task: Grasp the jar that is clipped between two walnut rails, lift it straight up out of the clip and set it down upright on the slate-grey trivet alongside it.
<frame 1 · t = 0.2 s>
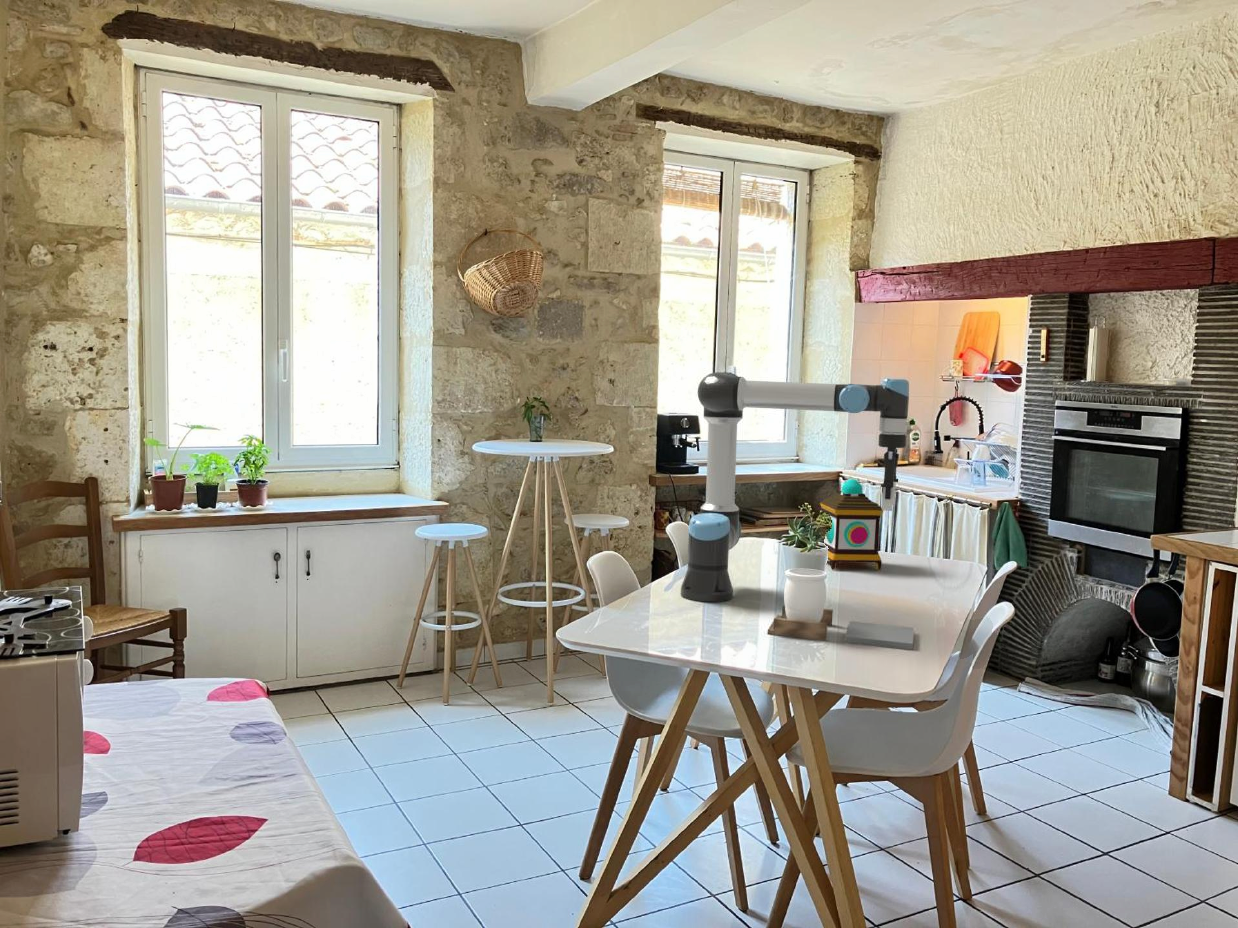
hand: (888, 507, 281), 28 cm above the table, fingers open, 13 cm apart
trivet: (879, 637, 247), on the table
jar: (803, 630, 253), on the table
clip rails: (803, 629, 253), on the table
decorative lantern: (847, 566, 339), on the table
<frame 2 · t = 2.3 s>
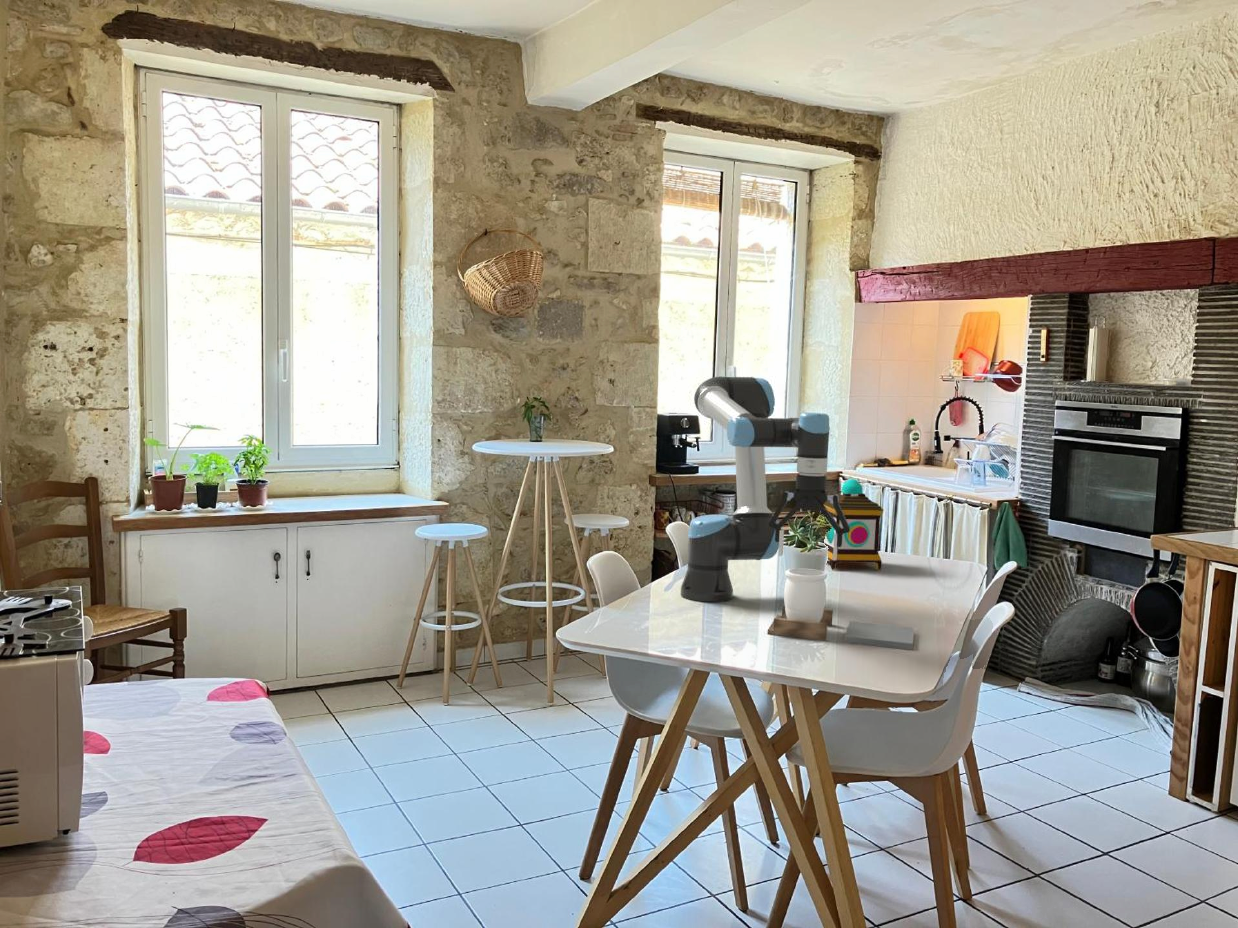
hand: (807, 557, 251), 19 cm above the table, fingers open, 13 cm apart
nothing on the table moved.
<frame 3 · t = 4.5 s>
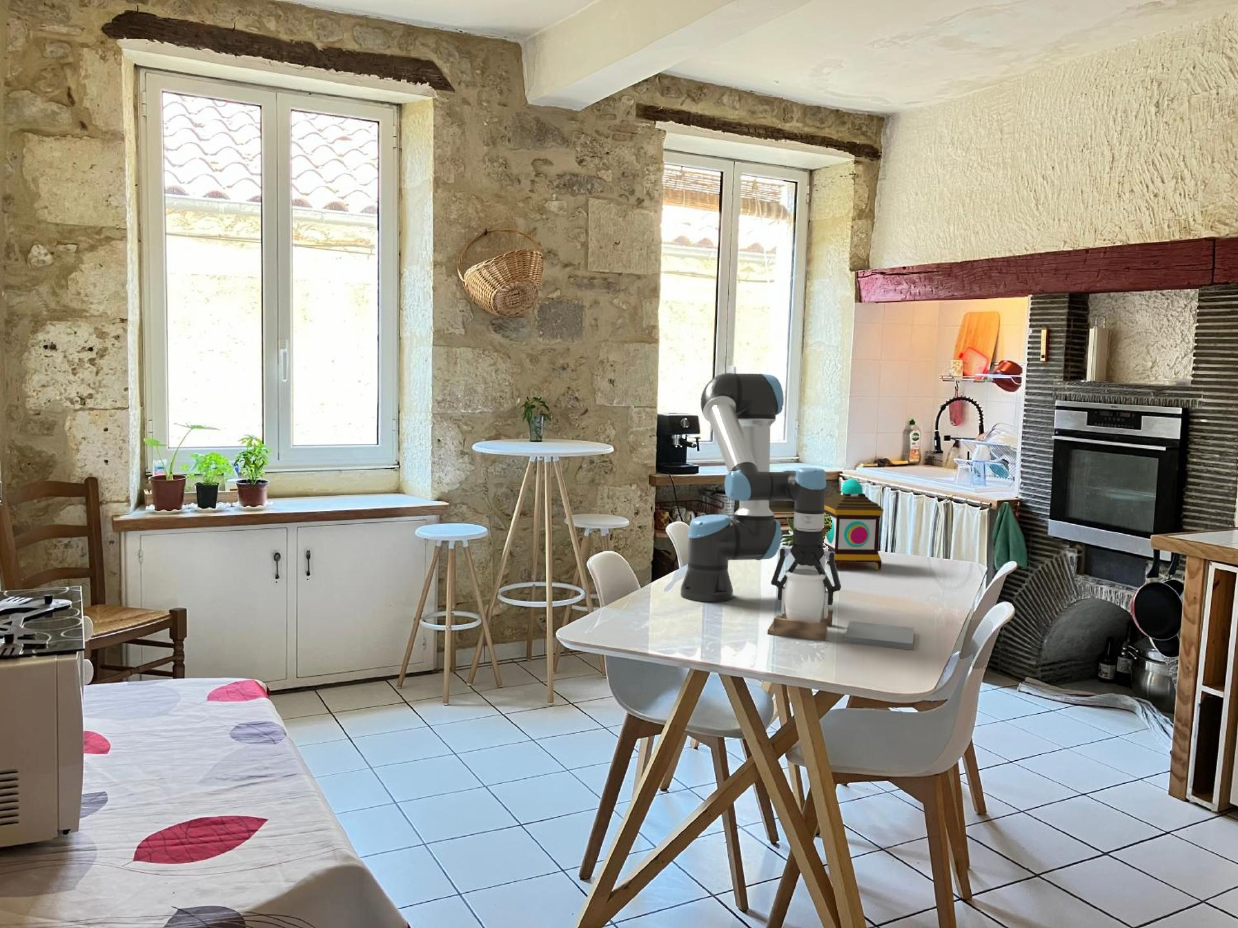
hand: (804, 614, 252), 4 cm above the table, fingers closed on jar, 10 cm apart
jar: (803, 630, 253), on the table, touching gripper
everything else where it was.
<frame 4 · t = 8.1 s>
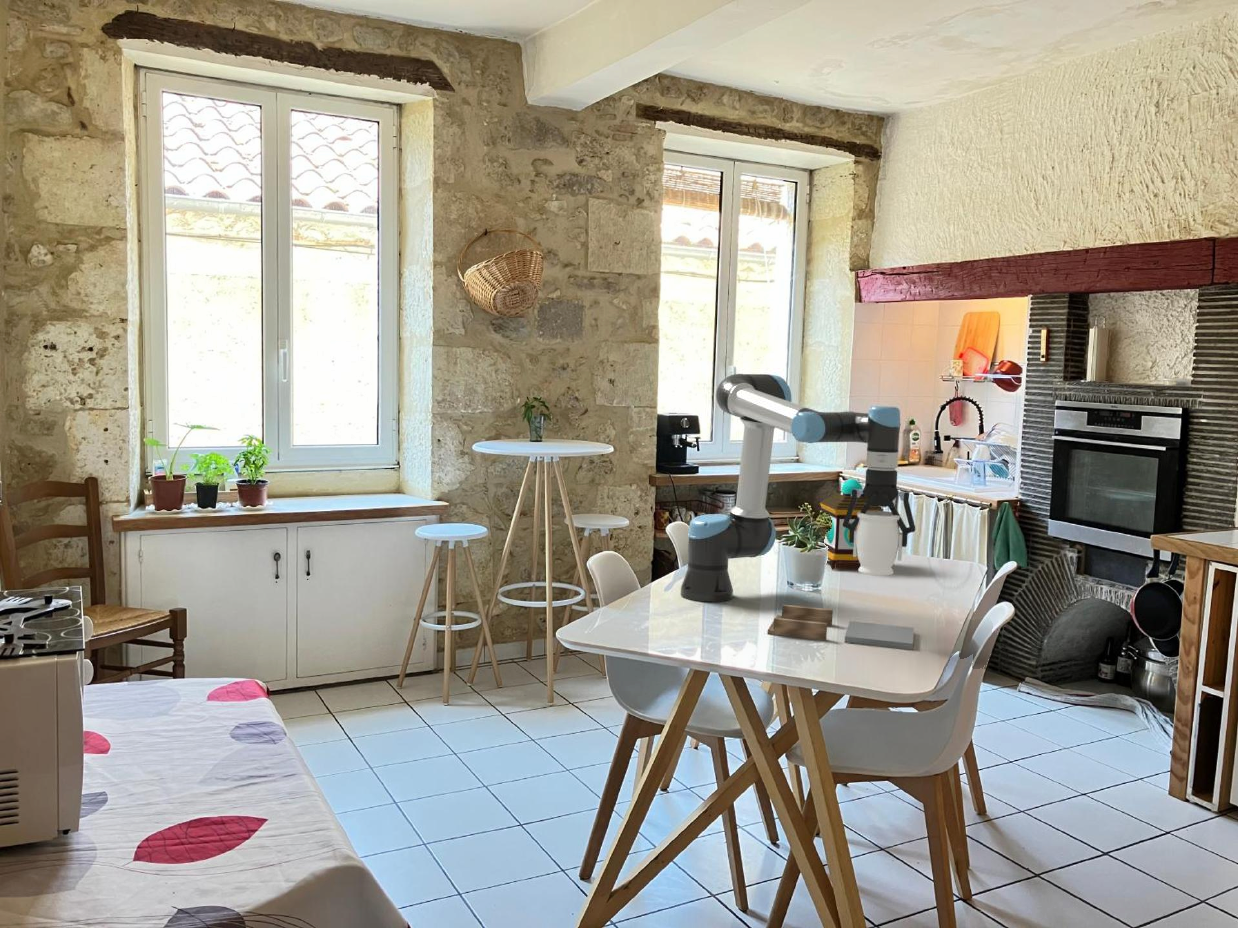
hand: (877, 557, 245), 20 cm above the table, fingers closed on jar, 10 cm apart
jar: (875, 573, 246), point 16 cm above the table, touching gripper
everything else where it was.
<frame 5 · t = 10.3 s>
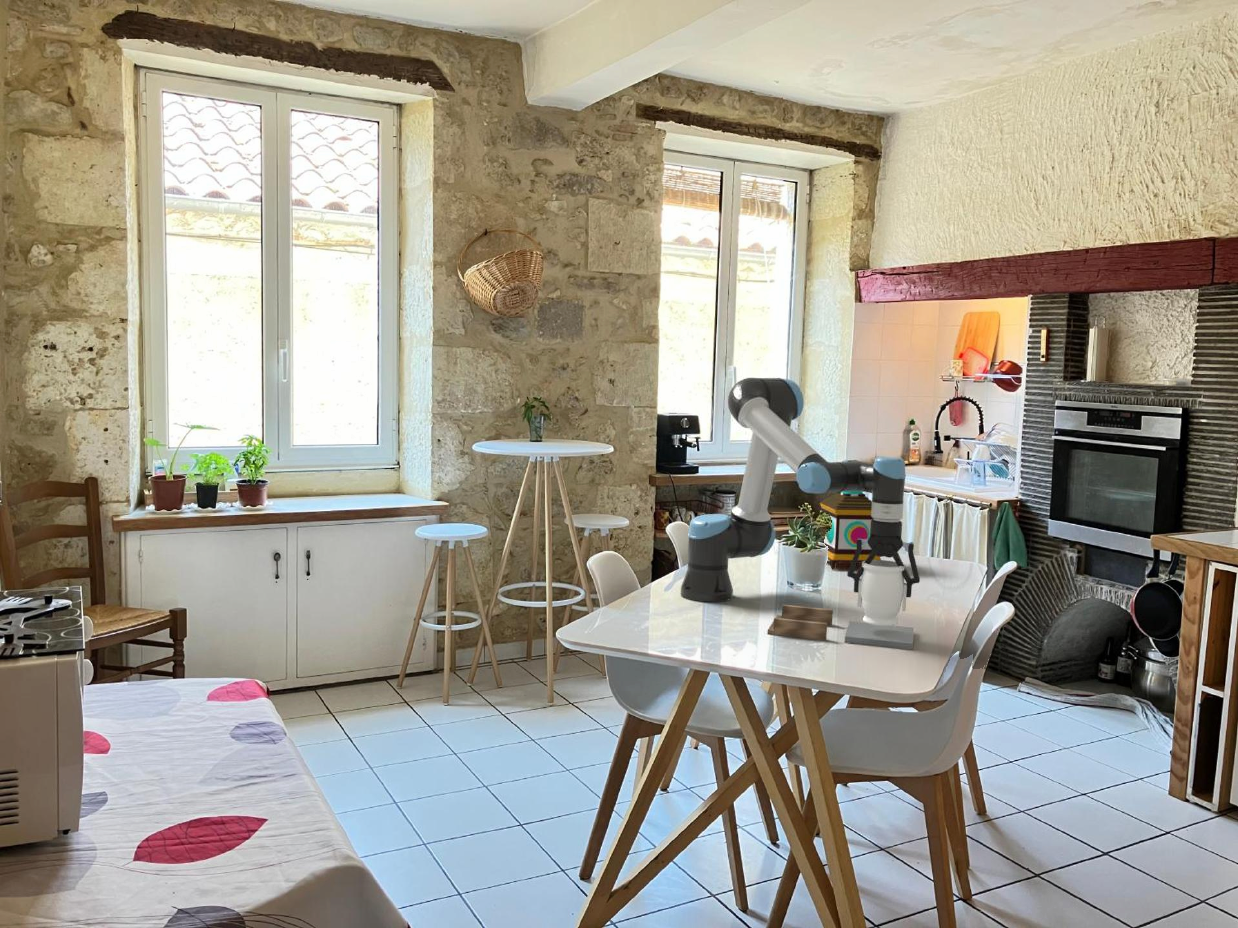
hand: (881, 607, 246), 8 cm above the table, fingers closed on jar, 10 cm apart
jar: (879, 623, 247), point 4 cm above the table, touching gripper
everything else where it was.
when the fingers open (5 cm above the table, at t = 12.0 s): jar stays where it is, resting on trivet.
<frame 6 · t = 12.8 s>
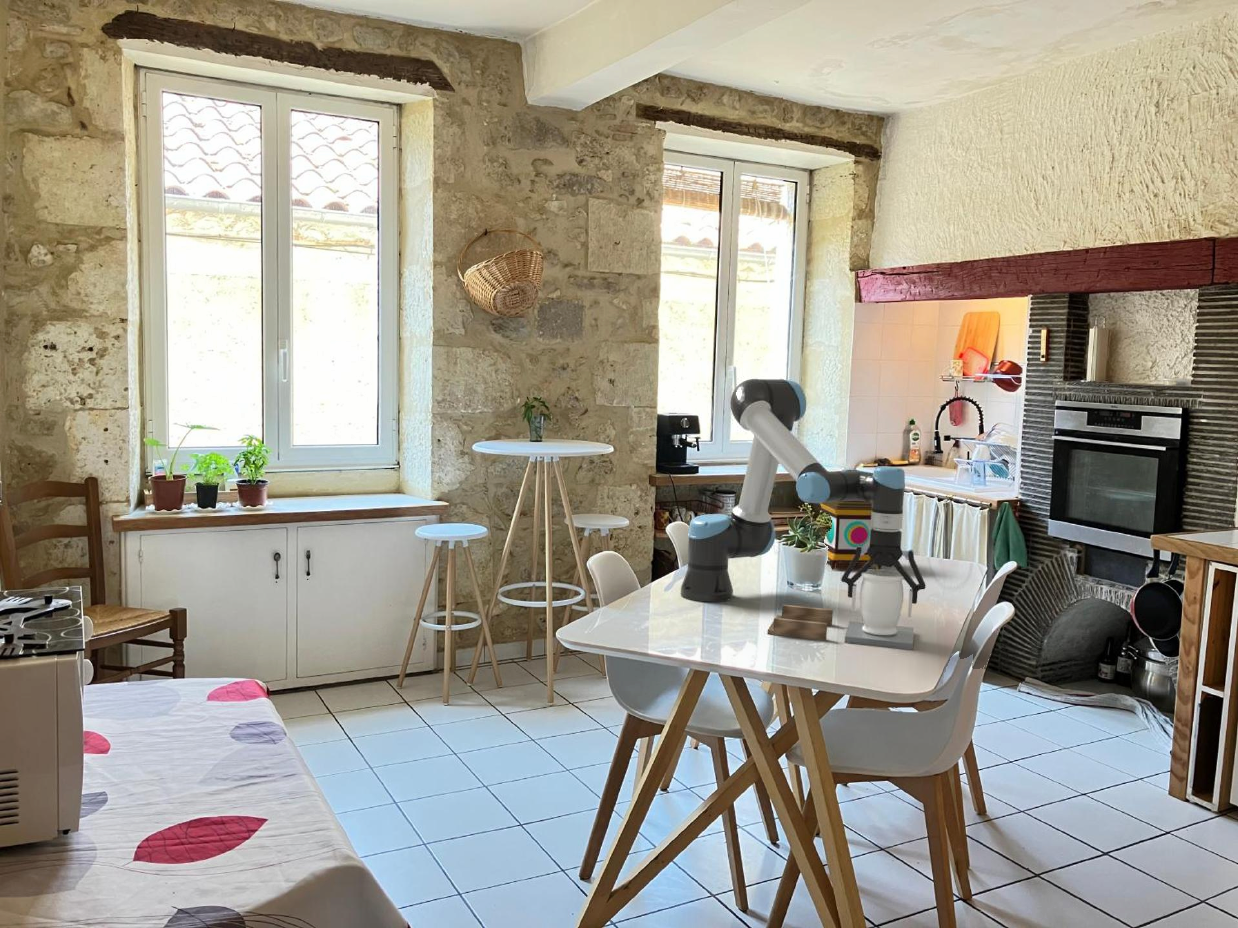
hand: (881, 613, 246), 6 cm above the table, fingers open, 13 cm apart
jar: (879, 632, 247), point 1 cm above the table, touching trivet
everything else where it was.
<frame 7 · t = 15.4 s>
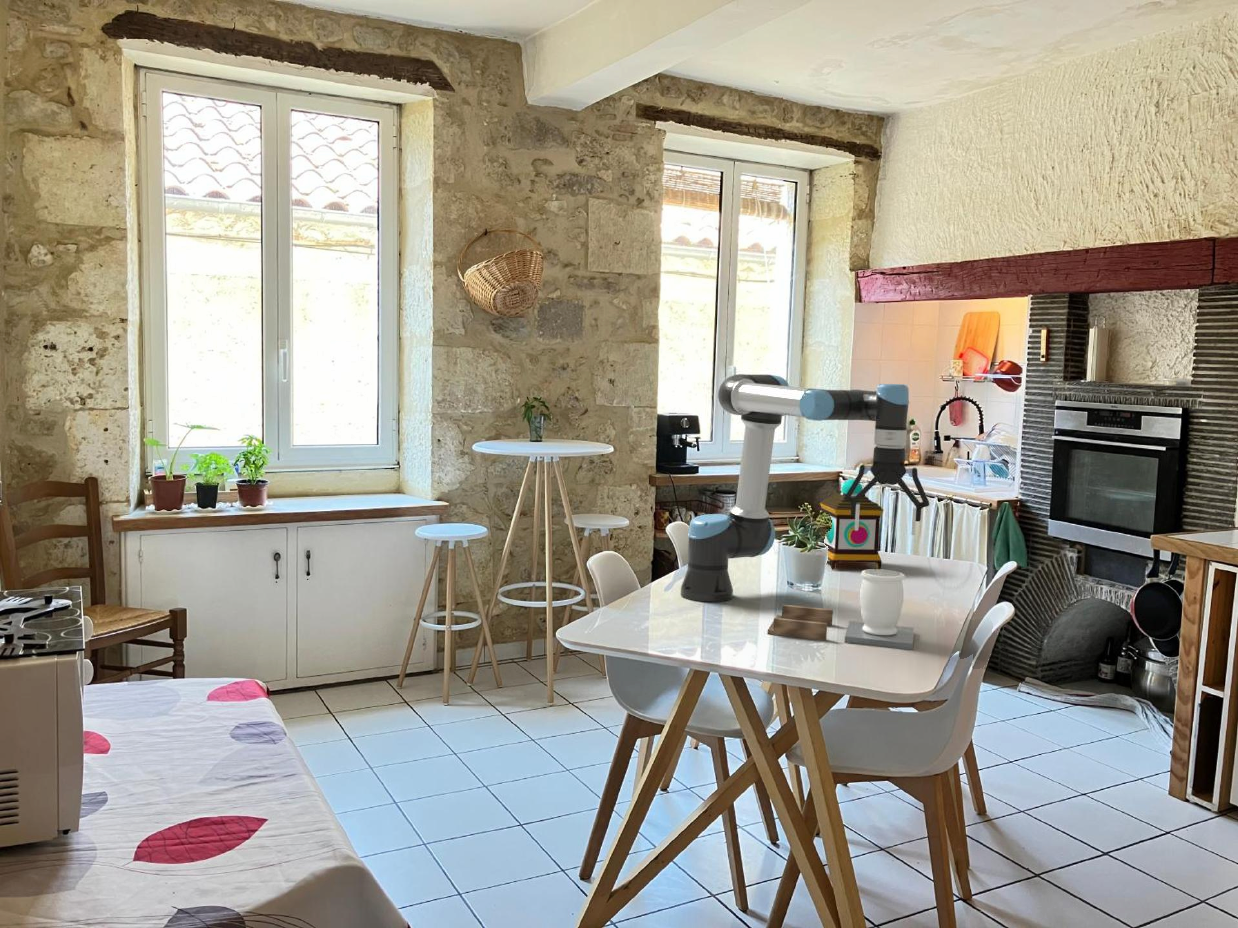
hand: (884, 532, 245), 27 cm above the table, fingers open, 13 cm apart
nothing on the table moved.
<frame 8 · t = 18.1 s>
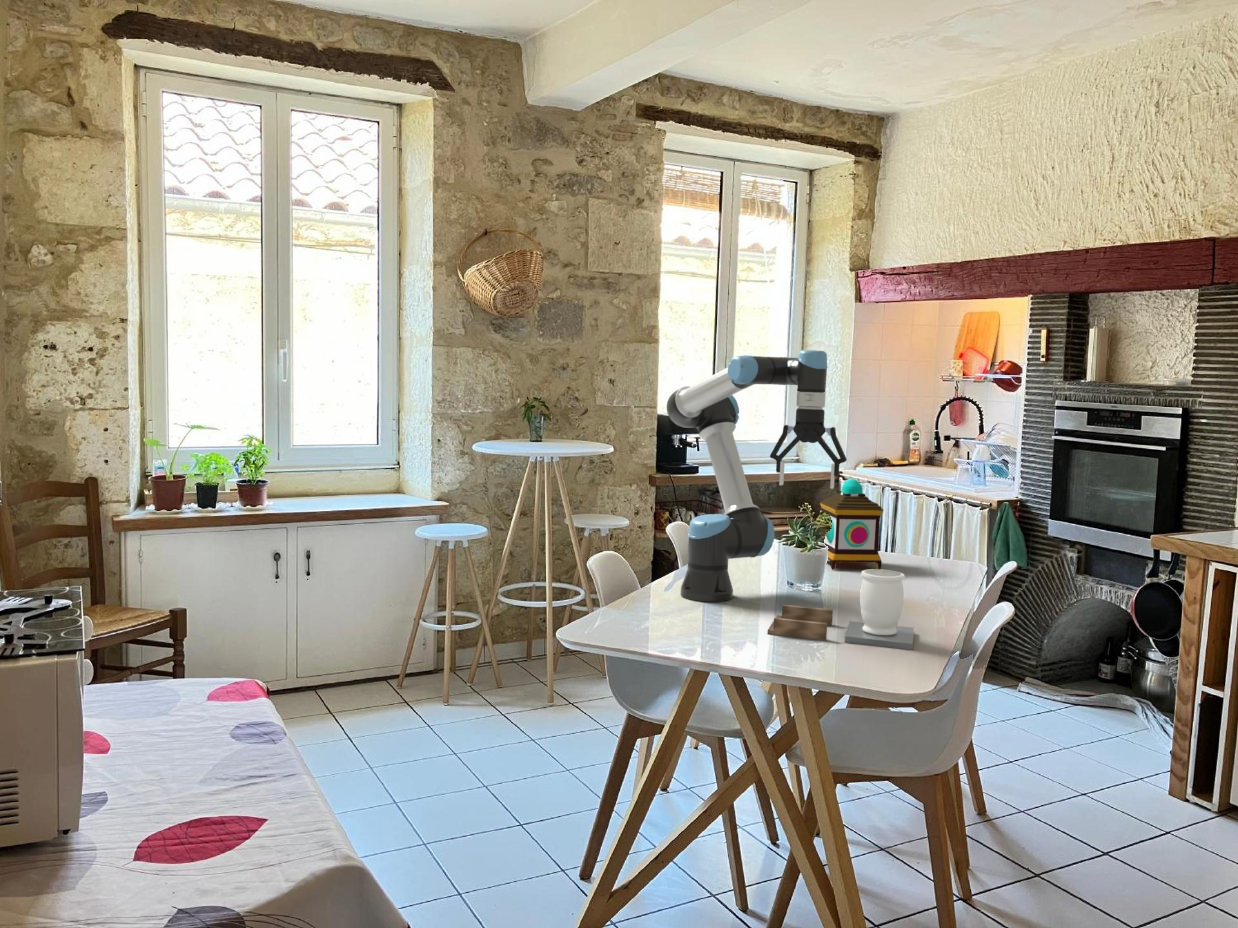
hand: (806, 486, 267), 35 cm above the table, fingers open, 13 cm apart
nothing on the table moved.
at the end: jar inside the target area on the trivet (0.2 cm from its centre), point 1.3 cm above the trivet's base; jar tilted 0°; the gripper is holding nothing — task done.
